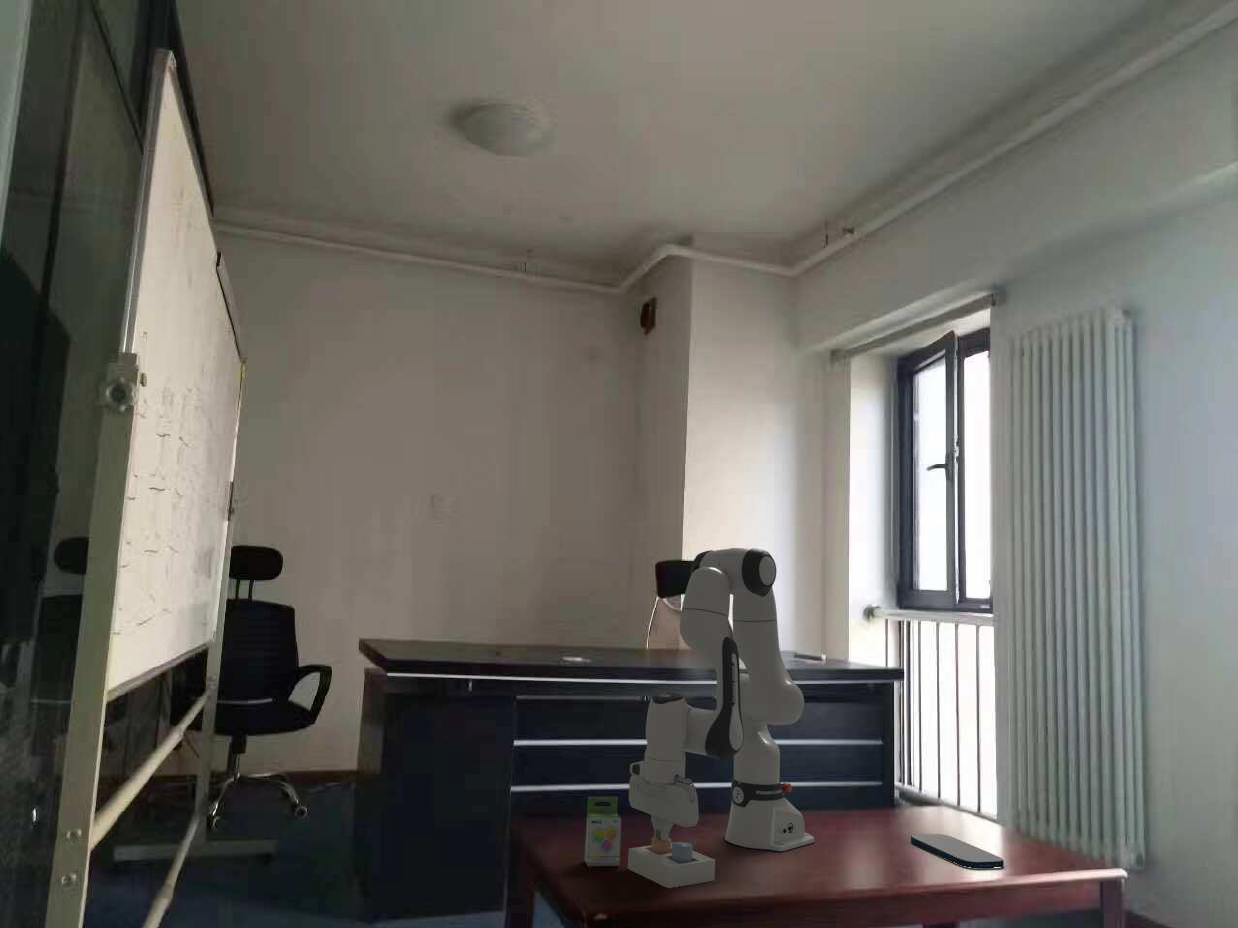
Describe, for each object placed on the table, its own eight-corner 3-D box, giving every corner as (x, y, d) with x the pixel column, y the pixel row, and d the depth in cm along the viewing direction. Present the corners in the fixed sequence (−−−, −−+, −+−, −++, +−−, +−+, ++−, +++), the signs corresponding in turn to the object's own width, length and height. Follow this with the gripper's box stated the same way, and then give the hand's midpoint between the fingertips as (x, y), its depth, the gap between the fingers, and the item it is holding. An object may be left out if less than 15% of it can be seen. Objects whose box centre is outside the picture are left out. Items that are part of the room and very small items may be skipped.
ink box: (587, 867, 186) (590, 800, 188) (583, 861, 189) (587, 796, 191) (619, 866, 187) (622, 800, 189) (615, 861, 191) (618, 796, 193)
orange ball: (662, 855, 190) (663, 835, 190) (674, 860, 186) (675, 840, 187) (646, 857, 187) (647, 837, 188) (658, 862, 184) (659, 842, 184)
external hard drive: (905, 842, 221) (905, 834, 221) (944, 841, 224) (944, 833, 225) (967, 871, 199) (967, 862, 199) (1010, 870, 202) (1010, 860, 202)
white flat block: (672, 861, 193) (673, 842, 193) (714, 880, 181) (715, 859, 182) (627, 868, 186) (628, 848, 187) (668, 888, 174) (669, 866, 175)
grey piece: (683, 861, 184) (683, 840, 185) (696, 866, 181) (696, 846, 181) (667, 863, 182) (668, 843, 182) (679, 869, 178) (680, 848, 179)
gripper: (707, 779, 183) (704, 850, 181) (648, 761, 199) (645, 826, 197) (683, 781, 179) (680, 853, 177) (625, 763, 196) (622, 828, 194)
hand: (661, 838), depth 187 cm, fingers closed, pressing on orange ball
